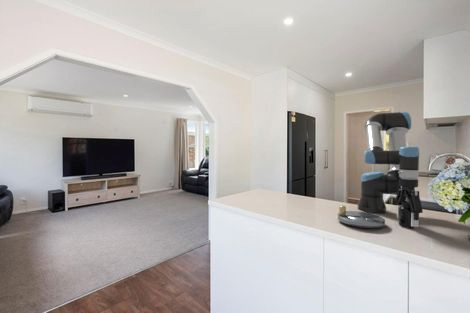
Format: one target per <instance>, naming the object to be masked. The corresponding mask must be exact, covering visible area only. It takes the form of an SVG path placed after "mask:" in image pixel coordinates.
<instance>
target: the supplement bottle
mask: <svg viewBox="0 0 470 313" xmlns="http://www.w3.org/2000/svg"><path fill="white" fill-rule="evenodd" d="M401 205H402V206H401V207H400V208H399V218H398V226H400V227H403V228H407V229H416V227H412V226H411V212H412V208H411V205H410V202H409V200H405V201H402V204H401Z"/></svg>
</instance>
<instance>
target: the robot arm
mask: <svg viewBox="0 0 470 313" xmlns="http://www.w3.org/2000/svg"><path fill="white" fill-rule="evenodd" d="M411 129H412V118H411V115H410V113H409V112H407V111H397V112H380V113H376V114H374V115H372V116H370V118H368V119H367V121H366V122H365V123H364V131H365V133H366V141H367V142H366V143H367V150H364V155H363V156H364V157H363V158H364V163H365V164H369V165H389V170H388V171H387V172H386V174H385V173H384V172H383V171H371V172H364V173H362V174H361V179H360V182H361V187H360V189H361V190H360V198H359V200H358V203H357V209H358V210H359V211H361V212H366V213H371V214H374V213H375V214H384V213H386V212H387V207H386V203H385V200H384V195H394V196H396V197H395V198H394V203H395V204H396V207H397V208H396V218H397V219H399V208H400V207H401V206H402V205H401V204H402V201H409V202H410V205H411V208H412V212H411V226H412V227H415V228H419V226H420V225H419V223H420V222H419V221H420V214H422V213H423V212H424V211H423V206H422V203H421V197H420V191H419V190H416V188H418V187H419V180H418V179H419V175H420V174H419V173H420V171H419V167H420V163H419V162H420V148H419V147H418V146H407V140H406V139H407V137H406V134H407V133H408V132H409V131H410V130H411ZM383 131H385V134H386V135H387V136H388V146H389V148H388V149H389V150H387V149H386V150H385V149H384V146H383V139H382V138H383V137H382V132H383Z"/></svg>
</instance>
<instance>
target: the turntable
mask: <svg viewBox="0 0 470 313" xmlns="http://www.w3.org/2000/svg"><path fill="white" fill-rule="evenodd" d="M338 210H339V211H338V212H337V220H338V222H340V223H343V224H345V225H348V226H352V227H357V228H364V229H380V228H383V227H385V226H386V219H385V218H383V216H380V215H378V214H376V213H375V214H374V213H371V212H366V211H360V210H359V211H358V210H347V207H346V206H345V205H339V206H338Z"/></svg>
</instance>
